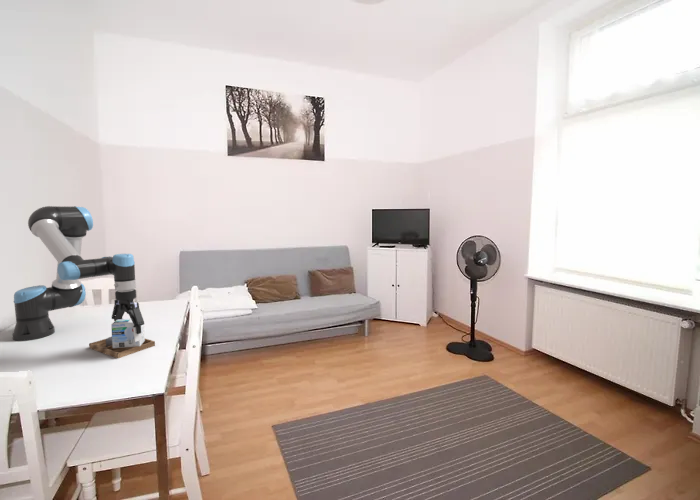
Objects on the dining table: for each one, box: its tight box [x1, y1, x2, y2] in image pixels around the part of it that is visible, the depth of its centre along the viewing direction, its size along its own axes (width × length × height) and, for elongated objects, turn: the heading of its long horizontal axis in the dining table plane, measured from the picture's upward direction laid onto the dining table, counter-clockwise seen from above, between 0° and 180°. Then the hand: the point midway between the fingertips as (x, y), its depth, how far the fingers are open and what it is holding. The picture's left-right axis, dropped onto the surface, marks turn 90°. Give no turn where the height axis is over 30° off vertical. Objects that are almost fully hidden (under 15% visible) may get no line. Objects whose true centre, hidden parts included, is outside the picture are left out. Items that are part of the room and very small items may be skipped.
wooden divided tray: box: [88, 338, 156, 359], centre depth 153 cm, size 22×16×2 cm
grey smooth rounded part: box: [105, 336, 112, 347], centre depth 156 cm, size 7×7×3 cm
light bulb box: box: [110, 318, 146, 348], centre depth 150 cm, size 11×7×11 cm, turn 106°
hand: (128, 338), depth 150 cm, fingers open, 13 cm apart
